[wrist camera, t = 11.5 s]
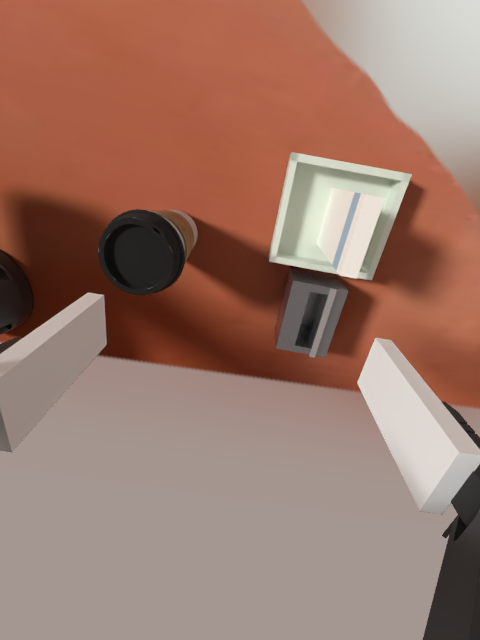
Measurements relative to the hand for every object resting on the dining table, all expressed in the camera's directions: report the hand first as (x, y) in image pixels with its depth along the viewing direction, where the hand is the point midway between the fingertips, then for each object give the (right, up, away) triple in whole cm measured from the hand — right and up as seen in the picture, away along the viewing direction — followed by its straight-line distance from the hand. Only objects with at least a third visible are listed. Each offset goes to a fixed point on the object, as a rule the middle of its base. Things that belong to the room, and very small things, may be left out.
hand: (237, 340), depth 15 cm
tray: (+12, +14, +25) cm, 31 cm away
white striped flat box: (+12, +14, +24) cm, 30 cm away
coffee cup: (-9, +13, +27) cm, 32 cm away
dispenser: (+10, +3, +30) cm, 32 cm away
